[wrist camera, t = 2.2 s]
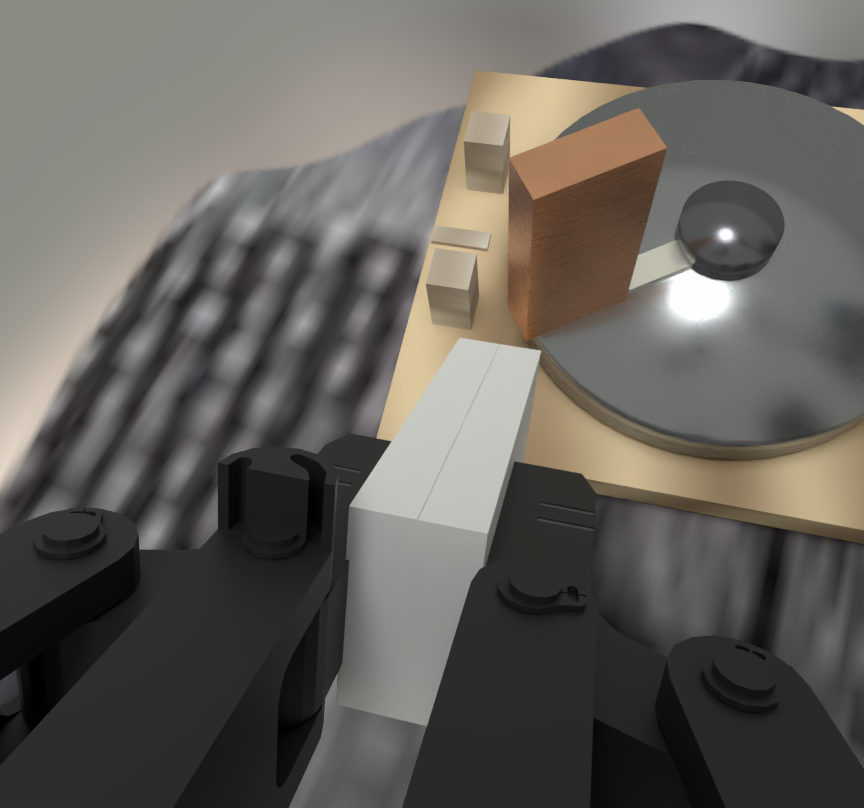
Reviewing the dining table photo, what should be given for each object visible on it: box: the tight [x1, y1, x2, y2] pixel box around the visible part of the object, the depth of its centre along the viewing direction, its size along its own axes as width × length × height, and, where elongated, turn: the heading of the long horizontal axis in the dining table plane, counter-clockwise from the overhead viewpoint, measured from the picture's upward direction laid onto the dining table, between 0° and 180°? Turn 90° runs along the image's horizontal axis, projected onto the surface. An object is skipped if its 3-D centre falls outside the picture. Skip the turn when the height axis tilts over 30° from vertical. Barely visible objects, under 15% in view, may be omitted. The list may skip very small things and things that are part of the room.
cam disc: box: [508, 80, 864, 459], centre depth 27 cm, size 16×16×10 cm
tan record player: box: [377, 71, 864, 544], centre depth 31 cm, size 25×19×4 cm
